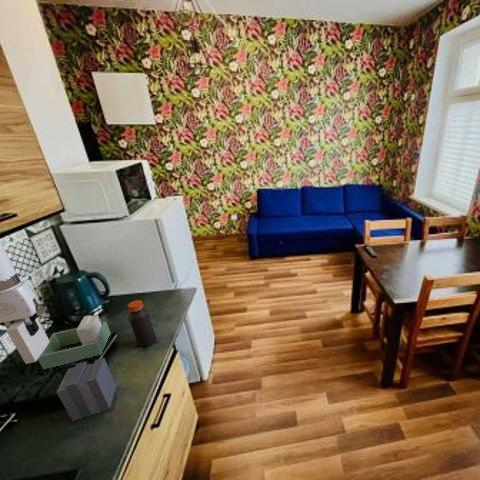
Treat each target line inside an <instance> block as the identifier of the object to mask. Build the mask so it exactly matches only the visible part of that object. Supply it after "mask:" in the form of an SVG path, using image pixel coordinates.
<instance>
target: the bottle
mask: <svg viewBox="0 0 480 480" xmlns="http://www.w3.org/2000/svg"><path fill="white" fill-rule="evenodd" d="M127 309H128V312H129V314H128V316H127V317H128V321H129V324H130V326H131V330H132V333H133V337H134V339H135V341H136V344H137V346H138V348H141V349H147V348H150V347H152V346H153V345H154V344H155V343H156V342H157V339H158V338H157V335H156V332H155V329H154V325H153V322H152V319H151V316H150V313H149V310H148V309H147V308H144V303H143V301H142V300H140V299H136V300H133V301H130V302H129V303H128V304H127Z"/></svg>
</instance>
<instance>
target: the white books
mask: <svg viewBox="0 0 480 480" xmlns="http://www.w3.org/2000/svg"><path fill="white" fill-rule="evenodd" d="M101 322H102V321H101V319H100V317H99V315H98V314H96V315H89V314H88V315H85V316H83V318H82V320H81V321H80V322H79V325H78V326H77V327H76V328H77V330H76V332H77V334H78V336H79V338H80V340H81V343H82V345H85V344H89V343H93V342H95V340H96V338H97V336H98V334H99V331H100V329H101V327H102V324H101Z"/></svg>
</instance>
